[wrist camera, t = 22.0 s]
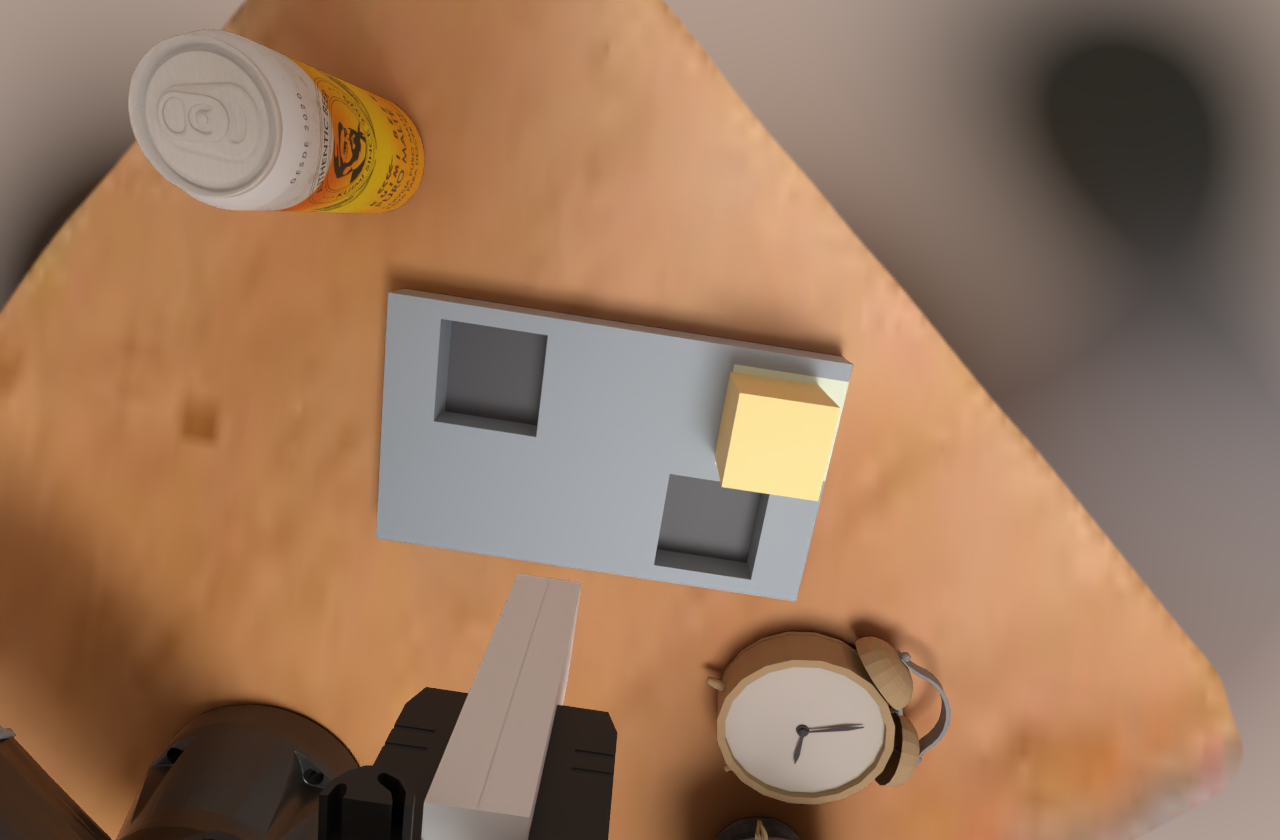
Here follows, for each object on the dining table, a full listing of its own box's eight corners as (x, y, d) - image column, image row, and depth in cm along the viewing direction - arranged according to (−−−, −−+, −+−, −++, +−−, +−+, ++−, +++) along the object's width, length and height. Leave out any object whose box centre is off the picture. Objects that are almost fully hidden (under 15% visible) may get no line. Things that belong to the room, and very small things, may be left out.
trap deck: (390, 521, 45) (376, 538, 42) (403, 288, 40) (388, 292, 38) (789, 581, 45) (795, 601, 43) (842, 356, 41) (853, 364, 38)
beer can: (427, 219, 39) (292, 218, 25) (321, 206, 39) (124, 199, 25) (430, 103, 38) (287, 31, 23) (319, 90, 38) (107, 10, 23)
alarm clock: (697, 669, 44) (952, 659, 40) (706, 624, 48) (936, 611, 45) (726, 810, 47) (966, 814, 43) (732, 755, 51) (949, 754, 48)
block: (714, 455, 40) (721, 487, 35) (730, 371, 39) (739, 393, 34) (799, 467, 40) (818, 501, 35) (818, 384, 39) (840, 407, 34)
